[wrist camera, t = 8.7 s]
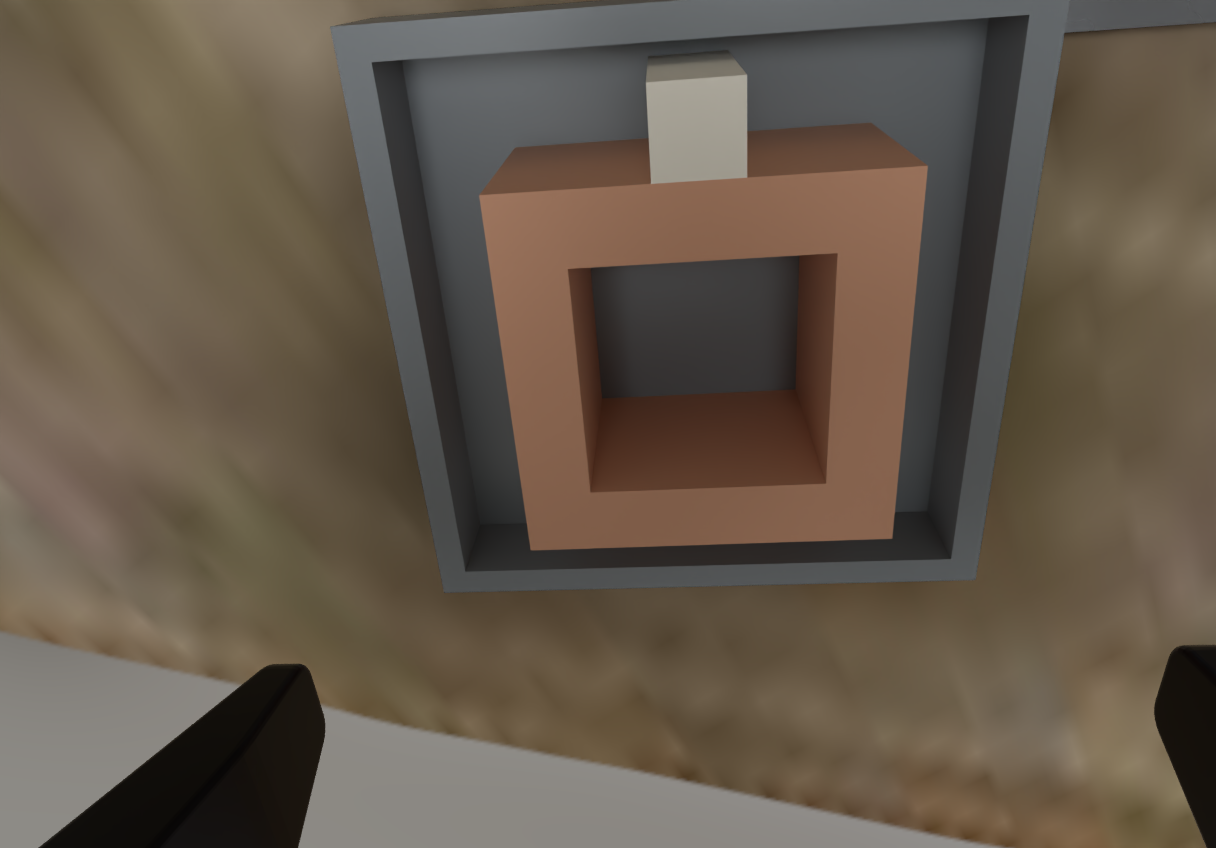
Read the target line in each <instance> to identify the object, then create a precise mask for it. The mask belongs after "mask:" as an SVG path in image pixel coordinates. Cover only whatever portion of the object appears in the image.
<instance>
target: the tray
mask: <svg viewBox="0 0 1216 848" xmlns="http://www.w3.org/2000/svg"><path fill="white" fill-rule="evenodd" d="M1069 2H1070V0H602V1H589V2H576V3H563V4H550V5H537V6H523V7H510V8H497V9H484V10H471V11H458V12H445V13H432V14H418V15H405V16H392V17H379V18H370V19H365V20H360V21H355V22H351V23H346V24H341V25H336V26H331V27H330V29H331V34H332V39H333V44H334V49H335V53H336V58H337V63H338V68H339V73H340V78H341V83H342V88H343V93H344V98H345V103H346V108H347V113H348V118H349V123H350V128H351V133H352V138H353V143H354V148H355V153H356V158H357V163H358V168H359V173H360V178H361V183H362V188H363V192H364V197H365V202H366V207H367V212H368V217H369V222H370V227H371V232H372V237H373V242H374V247H375V252H376V257H377V262H378V267H379V272H380V277H381V282H382V287H383V292H384V297H385V302H386V307H387V312H388V317H389V322H390V327H391V332H392V336H393V341H394V346H395V351H396V356H397V361H398V366H399V371H400V376H401V381H402V386H403V391H404V396H405V401H406V406H407V411H408V416H409V421H410V426H411V431H412V436H413V441H414V446H415V451H416V456H417V461H418V466H419V471H420V475H421V480H422V485H423V490H424V495H425V500H426V505H427V510H428V515H429V520H430V525H431V530H432V535H433V540H434V545H435V550H436V555H437V560H438V565H439V570H440V575H441V580H442V585H443V590H444V593H453V592H495V591H537V590H578V589H620V588H662V587H704V586H746V585H787V584H829V583H871V582H913V581H954V580H975V579H976V573H977V567H978V561H979V555H980V549H981V542H982V536H983V530H984V524H985V518H986V512H987V506H988V499H989V493H990V487H991V481H992V475H993V469H994V463H995V456H996V450H997V444H998V438H999V432H1000V426H1001V420H1002V413H1003V407H1004V401H1005V395H1006V389H1007V383H1008V377H1009V370H1010V364H1011V358H1012V352H1013V346H1014V340H1015V334H1016V327H1017V321H1018V315H1019V309H1020V303H1021V297H1022V291H1023V284H1024V278H1025V272H1026V266H1027V260H1028V254H1029V248H1030V241H1031V235H1032V229H1033V223H1034V217H1035V211H1036V205H1037V198H1038V192H1039V186H1040V180H1041V174H1042V168H1043V162H1044V155H1045V149H1046V143H1047V137H1048V131H1049V125H1050V119H1051V112H1052V106H1053V100H1054V94H1055V88H1056V82H1057V76H1058V69H1059V63H1060V57H1061V51H1062V45H1063V39H1064V33H1065V26H1066V20H1067V14H1068V8H1069ZM721 50H728V51H729V52H730V54H731V55H732V56H733V58H734V59H735V60H736V61H737V63H738V64H739V65H740V66H741V68H742V69H743V70H744V71H745V73H746V74H747V131H758V130H772V129H786V128H800V127H815V126H829V125H843V124H858V123H872V124H873V125H875V126H876V127H877V128H879V129H880V130H881V131H883V132H884V133H885V134H887V135H888V136H889V137H891V138H892V139H893V140H895V141H896V142H897V143H899V144H900V145H901V146H903V147H904V148H905V149H906V150H908V151H909V152H910V153H912V154H913V155H914V156H916V157H917V158H918V159H920V160H921V161H922V162H924V163H925V164H926V165H928V170H927V180H926V191H925V201H924V212H923V222H922V233H921V243H920V254H919V264H918V274H917V285H916V295H915V306H914V316H913V327H912V337H911V348H910V358H909V369H908V379H907V390H906V400H905V410H904V421H903V431H902V442H901V452H900V463H899V473H898V484H897V494H896V505H895V515H894V525H893V536H892V539H868V540H838V541H807V542H776V543H745V544H715V545H684V546H653V547H622V548H592V549H561V550H531V549H530V542H529V535H528V528H527V521H526V514H525V508H524V501H523V494H522V487H521V480H520V473H519V466H518V459H517V452H516V446H515V439H514V432H513V425H512V418H511V411H510V404H509V397H508V390H507V384H506V377H505V370H504V363H503V356H502V349H501V342H500V335H499V328H498V322H497V315H496V308H495V301H494V294H493V287H492V280H491V273H490V266H489V260H488V253H487V246H486V239H485V232H484V225H483V218H482V211H481V205H480V198H479V195H480V193H481V192H482V191H483V189H484V188H485V187H486V185H487V184H488V183H489V182H490V180H491V179H492V178H493V176H494V175H495V174H496V172H497V171H498V170H499V168H500V167H501V166H502V164H503V163H504V162H505V160H506V159H507V158H508V156H509V155H510V154H511V152H512V151H513V150H514V148H515V147H529V146H543V145H558V144H572V143H586V142H600V141H615V140H629V139H643V138H649V134H648V115H647V96H646V74H647V63H648V56H656V55H669V54H682V53H695V52H708V51H721ZM591 279H592V290H593V301H594V313H595V324H596V335H597V347H598V358H599V369H600V380H601V392H602V398H622V397H644V396H666V395H687V394H709V393H730V392H752V391H774V390H795V389H796V357H797V322H798V288H799V255H798V256H780V257H763V258H746V259H729V260H712V261H695V262H678V263H661V264H643V265H626V266H609V267H592V268H591Z"/></svg>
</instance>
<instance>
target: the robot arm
mask: <svg viewBox="0 0 1216 848" xmlns="http://www.w3.org/2000/svg"><path fill="white" fill-rule="evenodd" d="M1154 715H1155V721H1156V726H1157V729H1158V731H1159V734H1160V736H1161V739H1162V741H1163V744H1164V746H1165V748H1166V751H1167V753H1168V756H1169V758H1170V760H1171V763H1172V765H1173V768H1174V770H1175V772H1176V775H1177V777H1178V780H1179V782H1180V785H1181V787H1182V789H1183V792H1184V794H1185V797H1186V799H1187V801H1188V804H1189V806H1190V809H1191V811H1192V813H1193V816H1194V818H1195V821H1196V823H1197V825H1198V828H1199V830H1200V833H1201V835H1202V838H1203V840H1204V842H1205V845H1206V847H1207V848H1216V645H1183V646H1179V647H1176V648H1175V649H1174V650H1173V651H1172V652H1171V654H1170V656H1169V659H1168V662H1167V665H1166V668H1165V672H1164V675H1163V678H1162V681H1161V685H1160V688H1159V691H1158V694H1157V698H1156V701H1155V707H1154ZM324 738H325V719H324V714H323V711H322V708H321V705H320V701H319V698H318V695H317V692H316V688H315V685H314V682H313V679H312V676H311V673H310V671H309V669H308V668H307V667H306V666H305V665H302V664H273V665H268V666H266V667H264V668H263V669H261V670H260V671H259V672H257V673H256V674H255V675H254V676H252V677H251V678H250V679H249V680H247V681H246V682H245V683H244V684H242V685H241V686H240V687H239V688H237V689H236V690H235V691H234V692H232V693H231V694H230V695H229V696H228V697H226V698H225V699H224V700H223V701H221V702H220V703H219V704H218V705H216V706H215V707H214V708H212V709H211V710H210V711H209V712H208V713H206V714H205V715H204V716H203V717H201V718H200V719H199V720H197V721H196V722H195V723H194V724H192V725H191V726H190V727H189V728H188V729H186V730H185V731H184V732H182V733H181V734H180V735H179V736H177V737H176V738H175V739H174V740H172V741H171V742H170V743H169V744H167V745H166V746H165V747H164V748H163V749H161V750H160V751H159V752H158V753H156V754H155V755H154V756H152V757H151V758H150V759H149V760H147V761H146V762H145V763H144V764H143V765H141V766H140V767H139V768H138V769H136V770H135V771H134V772H133V773H132V774H130V775H129V776H128V777H127V778H125V779H124V780H123V781H122V782H120V783H119V784H118V785H116V786H115V787H114V788H113V789H111V790H110V791H109V792H108V793H106V794H105V795H104V796H103V797H101V798H100V799H99V800H98V801H96V802H95V803H94V804H93V805H91V806H90V807H89V808H88V809H86V810H85V811H84V812H83V813H81V814H80V815H79V816H78V817H76V818H75V819H74V820H73V821H72V822H70V823H69V824H68V825H66V826H65V827H64V828H63V829H61V830H60V831H59V832H58V833H56V834H55V835H54V836H53V837H51V838H50V839H49V840H48V841H47V842H45V843H44V844H43V845H41V846H40V847H39V848H298V846H299V842H300V838H301V834H302V829H303V825H304V821H305V817H306V813H307V809H308V805H309V800H310V796H311V792H312V788H313V784H314V780H315V776H316V771H317V768H318V763H319V759H320V755H321V751H322V747H323V743H324Z"/></svg>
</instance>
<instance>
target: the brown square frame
mask: <svg viewBox="0 0 1216 848" xmlns="http://www.w3.org/2000/svg"><path fill="white" fill-rule="evenodd" d="M646 96H647V115H648V134H649V138H643V139H629V140H615V141H600V142H586V143H572V144H558V145H543V146H529V147H515V148H514V150H513V151H512V152H511V154H510V155H509V156H508V158H507V159H506V160H505V162H504V163H503V164H502V166H501V167H500V168H499V170H498V171H497V172H496V174H495V175H494V176H493V178H492V179H491V180H490V182H489V183H488V184H487V185H486V187H485V188H484V189H483V191H482V192H481V193H480V195H479V198H480V205H481V211H482V218H483V225H484V232H485V239H486V246H487V253H488V260H489V266H490V273H491V280H492V287H493V294H494V301H495V308H496V315H497V322H498V328H499V335H500V342H501V349H502V356H503V363H504V370H505V377H506V384H507V390H508V397H509V404H510V411H511V418H512V425H513V432H514V439H515V446H516V452H517V459H518V466H519V473H520V480H521V487H522V494H523V501H524V508H525V514H526V521H527V528H528V535H529V542H530V549H531V550H561V549H592V548H622V547H653V546H684V545H715V544H745V543H776V542H807V541H838V540H868V539H892V536H893V525H894V515H895V505H896V494H897V484H898V473H899V463H900V452H901V442H902V431H903V421H904V410H905V400H906V390H907V379H908V369H909V358H910V348H911V337H912V327H913V316H914V306H915V295H916V285H917V274H918V264H919V254H920V243H921V233H922V222H923V212H924V201H925V191H926V180H927V170H928V165H926V164H925V163H924V162H922V161H921V160H920V159H918V158H917V157H916V156H914V155H913V154H912V153H910V152H909V151H908V150H906V149H905V148H904V147H903V146H901V145H900V144H899V143H897V142H896V141H895V140H893V139H892V138H891V137H889V136H888V135H887V134H885V133H884V132H883V131H881V130H880V129H879V128H877V127H876V126H875V125H873V124H872V123H858V124H843V125H829V126H815V127H800V128H786V129H772V130H758V131H747V74H746V73H745V71H744V70H743V69H742V68H741V66H740V65H739V64H738V63H737V61H736V60H735V59H734V58H733V56H732V55H731V54H730V52H729V51H728V50H721V51H708V52H695V53H682V54H669V55H656V56H648V63H647V74H646ZM798 255H799V288H798V322H797V357H796V389H795V390H774V391H752V392H730V393H709V394H687V395H666V396H644V397H622V398H602V392H601V380H600V369H599V358H598V347H597V335H596V324H595V313H594V301H593V290H592V279H591V268H592V267H609V266H626V265H643V264H661V263H678V262H695V261H712V260H729V259H746V258H763V257H780V256H798Z"/></svg>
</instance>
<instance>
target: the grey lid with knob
mask: <svg viewBox="0 0 1216 848" xmlns="http://www.w3.org/2000/svg"><path fill="white" fill-rule="evenodd" d="M1209 22H1216V0H1070V2H1069V8H1068V14H1067V20H1066V26H1065V33H1067V32H1082V31H1096V30H1110V29H1124V28H1138V27H1153V26H1167V25H1181V24H1195V23H1209Z"/></svg>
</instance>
